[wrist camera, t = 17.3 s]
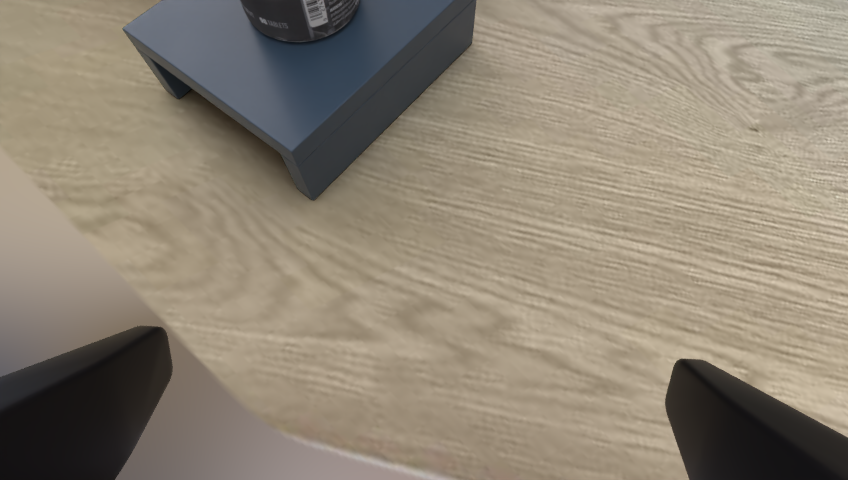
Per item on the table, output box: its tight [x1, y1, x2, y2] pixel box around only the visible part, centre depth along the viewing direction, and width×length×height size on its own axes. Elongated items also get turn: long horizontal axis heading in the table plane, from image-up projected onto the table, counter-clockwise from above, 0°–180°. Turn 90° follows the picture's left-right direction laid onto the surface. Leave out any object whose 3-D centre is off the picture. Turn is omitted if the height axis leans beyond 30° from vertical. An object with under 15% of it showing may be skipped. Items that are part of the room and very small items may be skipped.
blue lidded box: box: [123, 0, 476, 200], centre depth 27 cm, size 14×12×4 cm
